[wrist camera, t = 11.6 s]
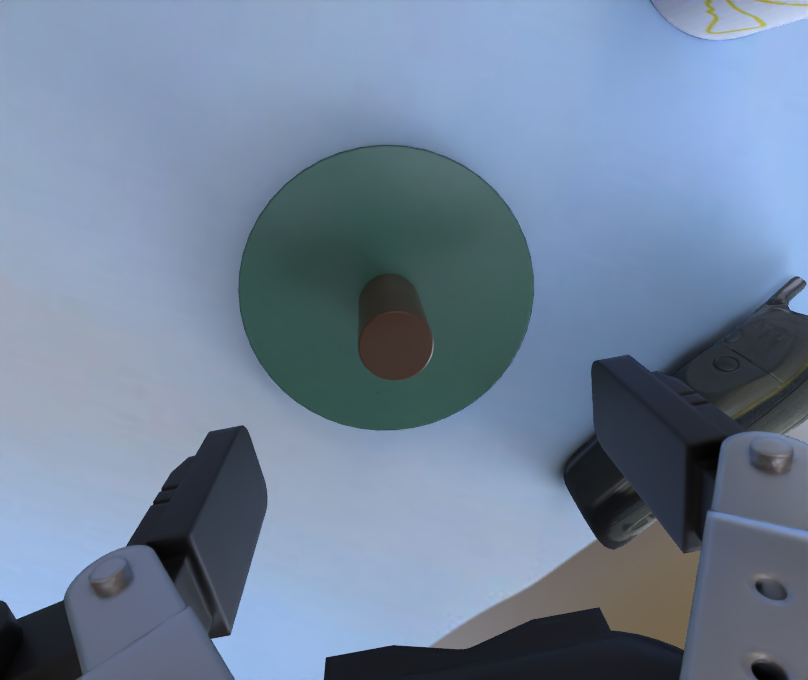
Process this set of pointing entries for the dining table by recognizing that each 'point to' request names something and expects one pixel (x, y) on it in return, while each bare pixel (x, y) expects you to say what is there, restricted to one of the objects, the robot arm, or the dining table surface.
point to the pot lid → (386, 287)
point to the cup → (730, 16)
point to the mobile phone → (727, 390)
